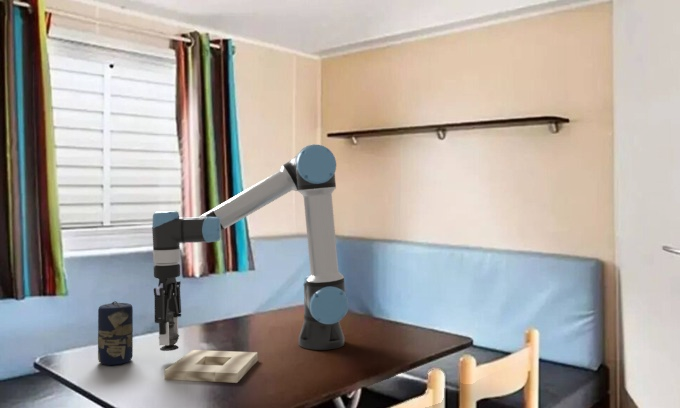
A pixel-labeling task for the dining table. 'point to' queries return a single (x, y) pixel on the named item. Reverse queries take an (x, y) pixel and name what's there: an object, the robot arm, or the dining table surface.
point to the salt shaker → (171, 334)
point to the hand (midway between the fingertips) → (169, 341)
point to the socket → (212, 366)
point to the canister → (115, 333)
